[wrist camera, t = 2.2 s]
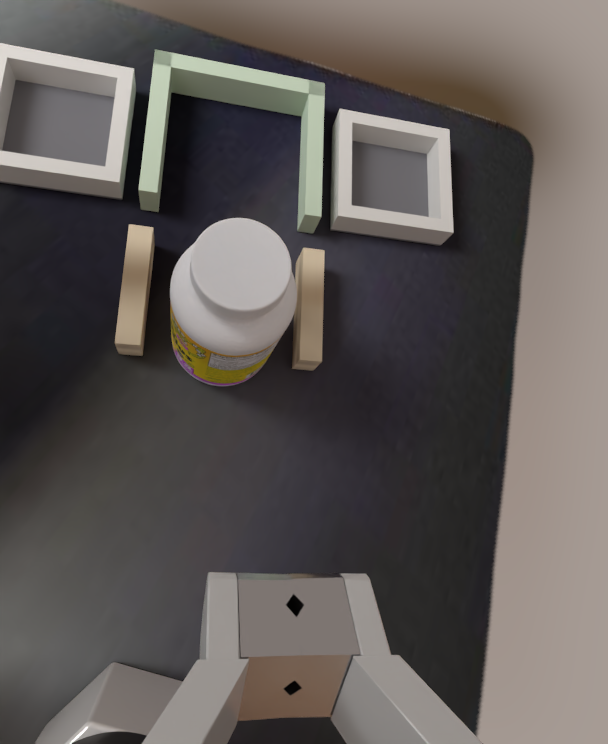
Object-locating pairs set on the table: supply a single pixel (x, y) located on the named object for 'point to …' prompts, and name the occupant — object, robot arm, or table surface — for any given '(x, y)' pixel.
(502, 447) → the table surface
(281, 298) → the supplement bottle
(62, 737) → the jar
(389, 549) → the table surface
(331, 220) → the tray
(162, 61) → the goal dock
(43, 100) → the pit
